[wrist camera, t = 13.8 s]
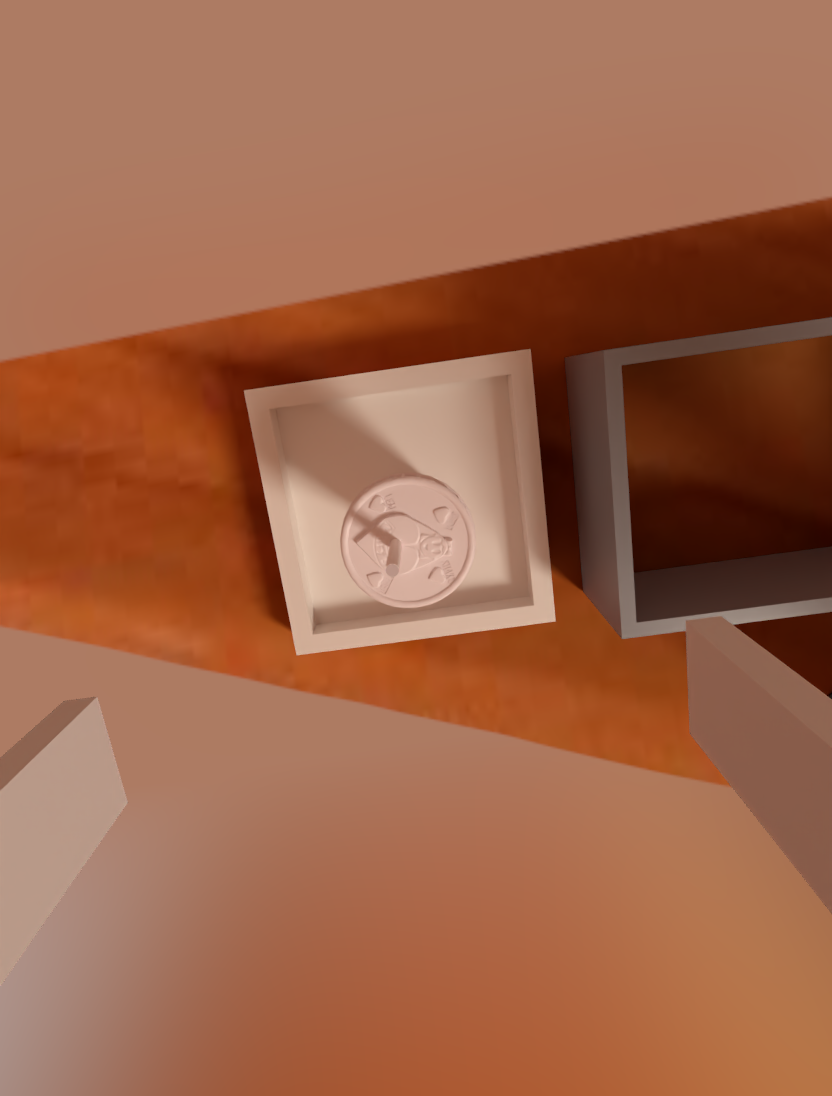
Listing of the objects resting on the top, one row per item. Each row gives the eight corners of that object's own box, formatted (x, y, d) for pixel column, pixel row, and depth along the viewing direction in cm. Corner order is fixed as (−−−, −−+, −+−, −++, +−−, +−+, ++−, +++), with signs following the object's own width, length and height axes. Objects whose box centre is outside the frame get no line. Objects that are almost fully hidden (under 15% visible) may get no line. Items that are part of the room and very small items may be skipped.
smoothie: (359, 449, 38) (326, 486, 24) (467, 455, 38) (494, 495, 24) (356, 553, 39) (324, 642, 26) (459, 559, 40) (481, 650, 26)
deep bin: (937, 303, 37) (1076, 281, 29) (923, 546, 40) (1044, 584, 33) (564, 357, 38) (603, 350, 30) (582, 591, 41) (621, 639, 33)
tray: (522, 351, 37) (530, 348, 35) (546, 606, 41) (555, 621, 39) (255, 390, 38) (243, 390, 35) (304, 638, 42) (296, 655, 39)
